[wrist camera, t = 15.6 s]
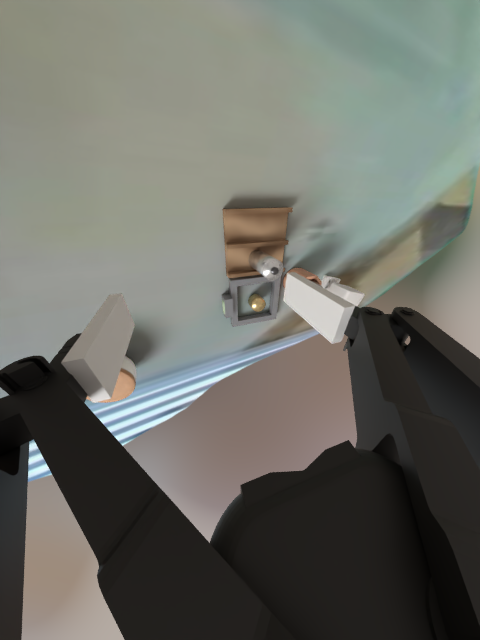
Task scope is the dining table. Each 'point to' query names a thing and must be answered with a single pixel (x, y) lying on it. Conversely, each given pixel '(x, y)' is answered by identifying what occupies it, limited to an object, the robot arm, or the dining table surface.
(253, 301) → the gold ball
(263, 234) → the trough board
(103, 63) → the dining table surface
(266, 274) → the cell
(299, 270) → the octagonal tan cylinder
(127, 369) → the lidded jar
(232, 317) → the cradle
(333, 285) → the security camera
